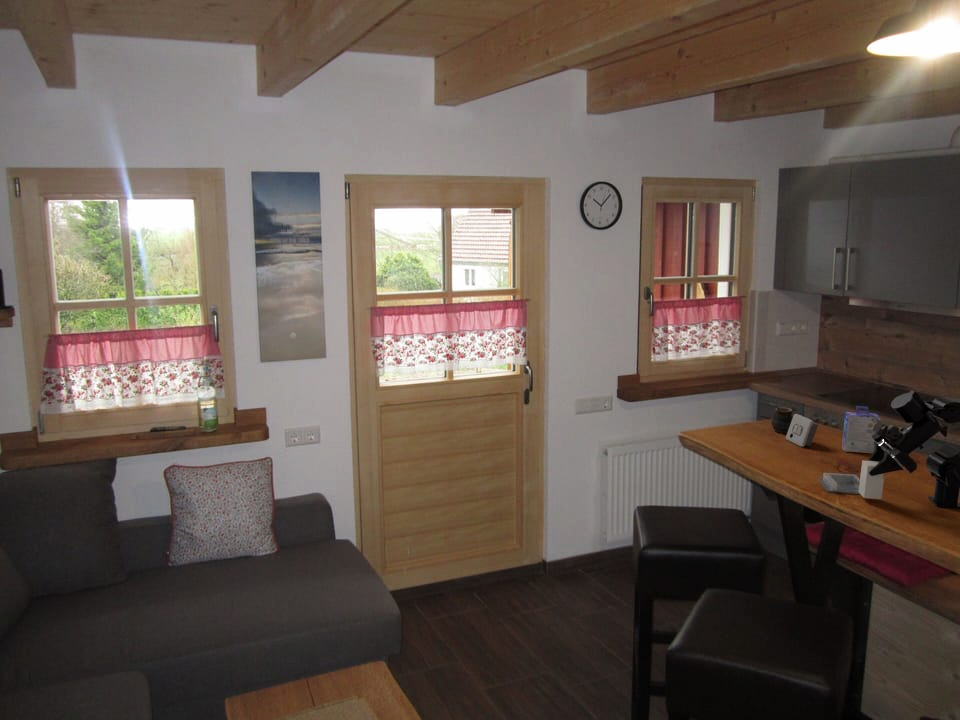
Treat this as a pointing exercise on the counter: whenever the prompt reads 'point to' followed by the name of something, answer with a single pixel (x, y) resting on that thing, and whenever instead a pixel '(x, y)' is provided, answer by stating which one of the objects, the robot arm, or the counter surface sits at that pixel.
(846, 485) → the rail cradle
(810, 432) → the electrical switch
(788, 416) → the mate gourd
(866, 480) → the block
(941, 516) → the counter surface
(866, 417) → the ink cartridge box
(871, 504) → the counter surface
